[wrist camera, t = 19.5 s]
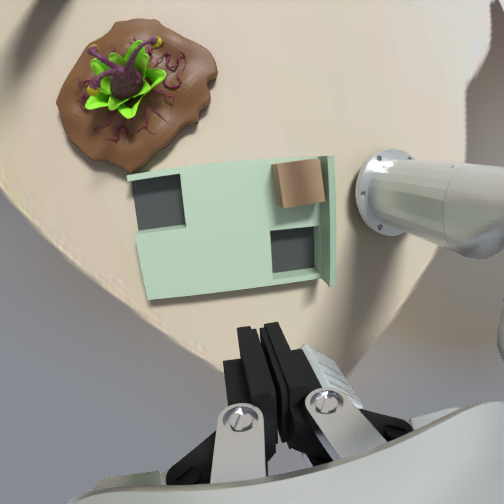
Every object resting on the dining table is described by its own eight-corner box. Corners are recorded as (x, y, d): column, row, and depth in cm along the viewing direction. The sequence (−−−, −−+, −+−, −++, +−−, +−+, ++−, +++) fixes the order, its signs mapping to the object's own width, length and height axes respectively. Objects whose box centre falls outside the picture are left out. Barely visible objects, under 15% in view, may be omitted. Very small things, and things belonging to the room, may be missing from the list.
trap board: (316, 157, 36) (333, 156, 31) (320, 271, 41) (335, 285, 36) (131, 174, 34) (119, 176, 28) (151, 292, 38) (143, 310, 33)
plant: (43, 118, 29) (-3, 108, 19) (129, 10, 27) (110, -30, 16) (143, 194, 35) (118, 206, 24) (238, 76, 32) (251, 43, 22)
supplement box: (305, 387, 47) (329, 438, 36) (275, 372, 45) (295, 427, 33) (334, 359, 47) (365, 407, 35) (305, 341, 44) (334, 393, 32)
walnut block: (310, 159, 34) (319, 158, 31) (316, 198, 35) (325, 201, 33) (271, 164, 33) (277, 164, 31) (277, 205, 35) (283, 208, 32)
